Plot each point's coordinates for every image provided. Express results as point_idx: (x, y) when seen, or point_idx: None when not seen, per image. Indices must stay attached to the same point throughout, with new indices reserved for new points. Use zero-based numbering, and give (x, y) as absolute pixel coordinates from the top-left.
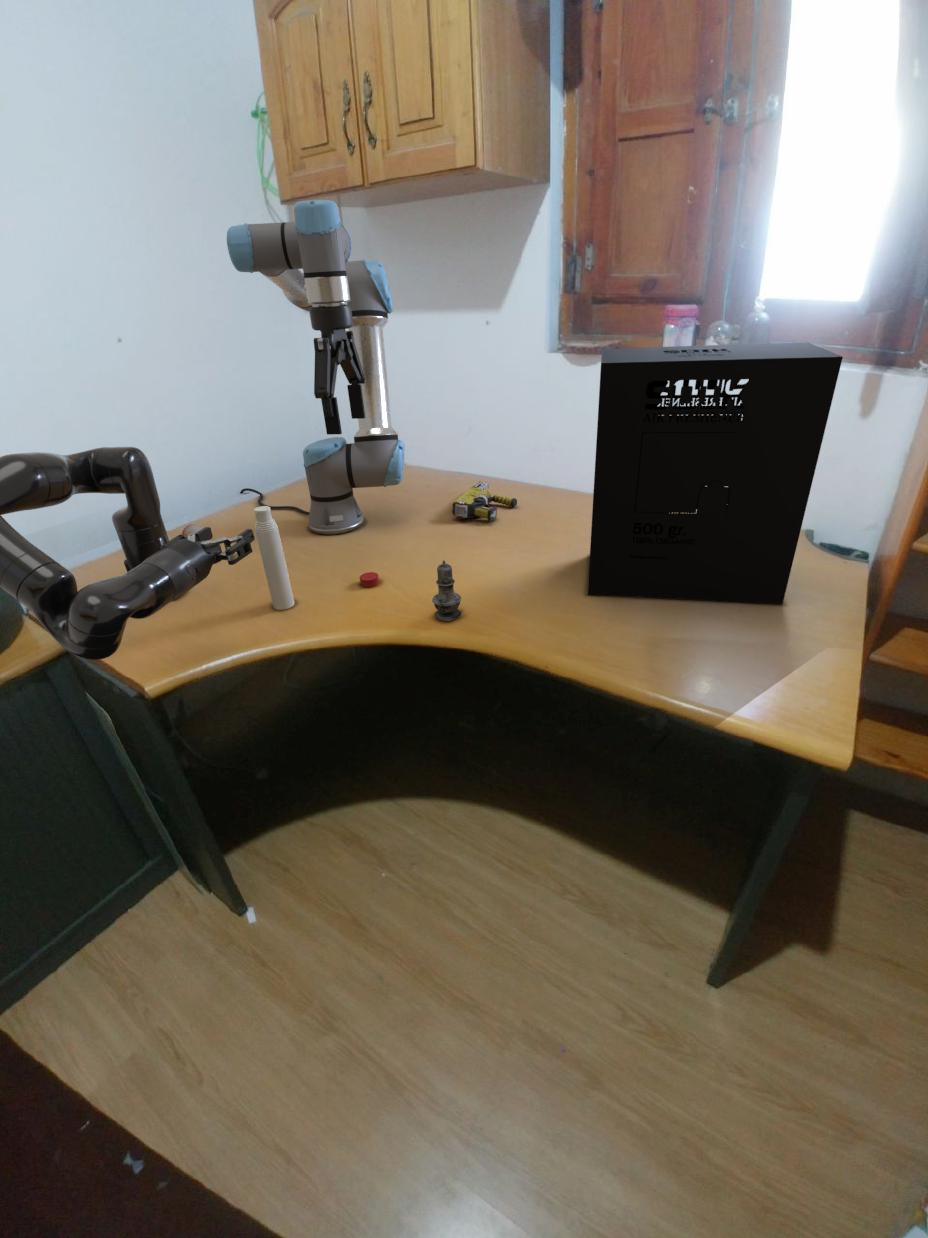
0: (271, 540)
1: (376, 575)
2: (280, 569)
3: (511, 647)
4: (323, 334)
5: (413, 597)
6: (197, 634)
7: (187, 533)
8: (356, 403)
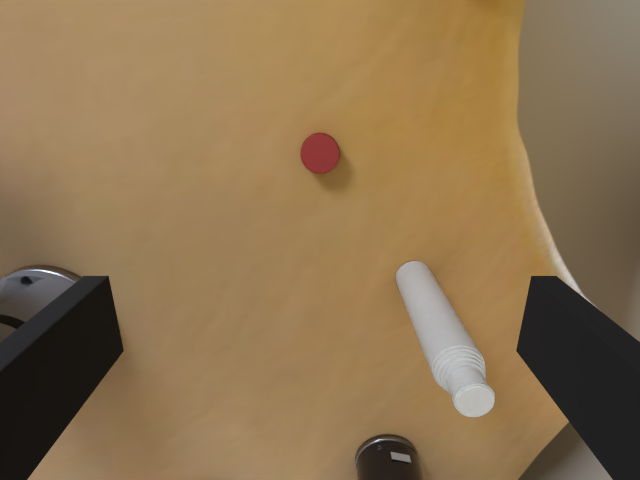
0: (471, 339)
1: (315, 139)
2: (446, 299)
3: None
4: None
5: (375, 36)
6: (503, 359)
7: None
8: (59, 374)
